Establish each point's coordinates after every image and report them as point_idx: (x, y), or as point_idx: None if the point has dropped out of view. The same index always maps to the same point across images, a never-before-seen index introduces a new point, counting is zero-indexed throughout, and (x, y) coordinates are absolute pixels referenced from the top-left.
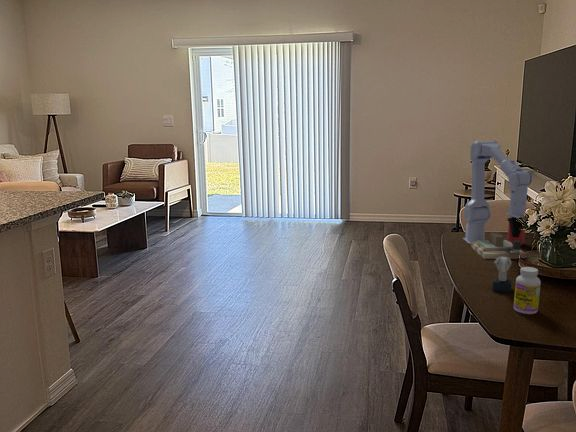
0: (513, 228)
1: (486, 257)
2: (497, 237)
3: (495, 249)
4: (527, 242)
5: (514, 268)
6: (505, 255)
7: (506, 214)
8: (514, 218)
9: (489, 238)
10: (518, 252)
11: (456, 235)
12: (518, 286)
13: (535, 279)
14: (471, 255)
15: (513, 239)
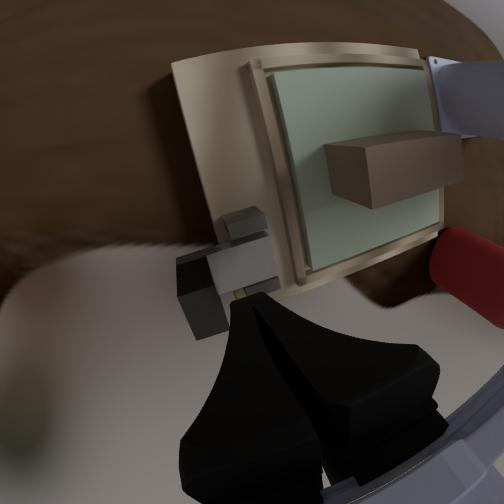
0: (222, 367)
1: (175, 84)
2: (362, 159)
3: (267, 138)
4: None
5: (36, 244)
6: (206, 199)
7: (417, 495)
8: (353, 465)
9: (428, 131)
10: None
11: None
12: None
13: None
14: (231, 13)
15: (449, 254)
